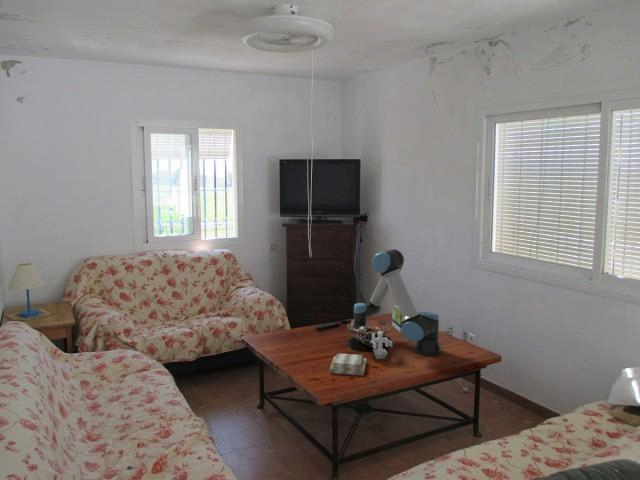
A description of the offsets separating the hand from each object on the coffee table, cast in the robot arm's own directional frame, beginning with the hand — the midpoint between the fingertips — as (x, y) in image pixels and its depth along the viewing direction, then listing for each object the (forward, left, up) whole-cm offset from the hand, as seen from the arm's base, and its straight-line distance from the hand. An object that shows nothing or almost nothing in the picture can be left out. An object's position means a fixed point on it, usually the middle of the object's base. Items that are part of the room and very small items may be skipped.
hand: (383, 345), depth 288 cm
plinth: (+18, +14, -9) cm, 25 cm away
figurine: (+2, -4, -9) cm, 10 cm away
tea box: (-10, -59, -9) cm, 60 cm away
